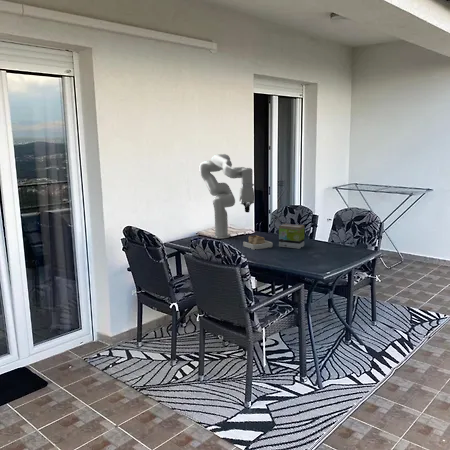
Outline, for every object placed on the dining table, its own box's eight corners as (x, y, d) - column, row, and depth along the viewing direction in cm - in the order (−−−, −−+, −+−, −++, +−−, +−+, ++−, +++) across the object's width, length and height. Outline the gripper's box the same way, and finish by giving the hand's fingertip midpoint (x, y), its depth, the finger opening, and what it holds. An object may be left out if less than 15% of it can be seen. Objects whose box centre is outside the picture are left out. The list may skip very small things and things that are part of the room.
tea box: (278, 247, 316) (278, 225, 314) (283, 244, 325) (283, 223, 323) (299, 249, 309) (300, 227, 307) (304, 246, 318) (304, 224, 316)
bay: (243, 246, 321) (243, 241, 321) (261, 243, 329) (261, 239, 328) (253, 249, 310) (253, 245, 309) (272, 246, 317) (272, 242, 316)
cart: (247, 245, 322) (247, 236, 321) (257, 244, 326) (257, 235, 325) (255, 248, 314) (255, 239, 313) (265, 246, 318) (265, 237, 317)
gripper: (253, 184, 331) (253, 210, 334) (235, 186, 324) (235, 212, 327) (259, 185, 324) (259, 211, 328) (240, 187, 317) (240, 213, 320)
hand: (247, 212), depth 327 cm, fingers closed
